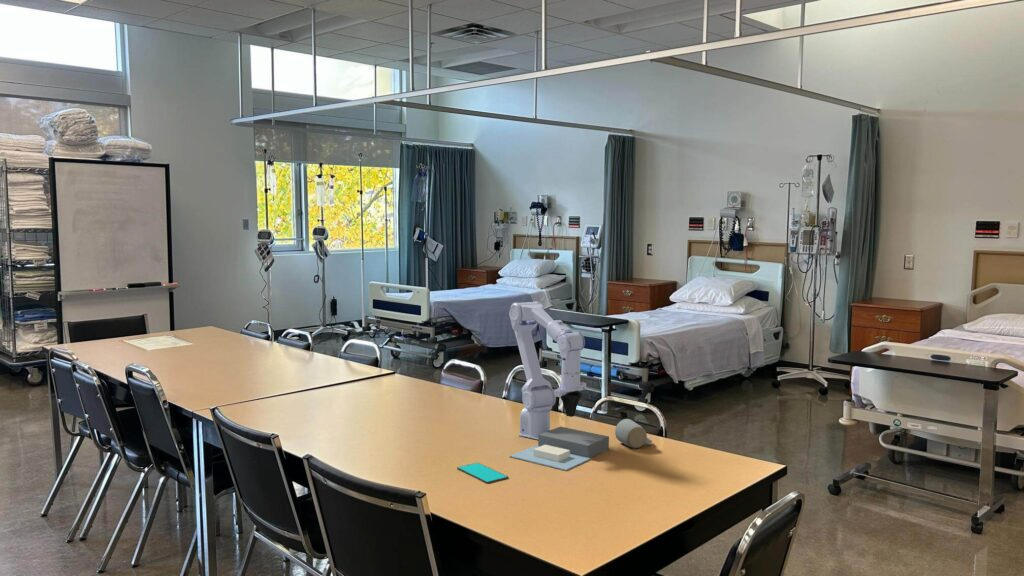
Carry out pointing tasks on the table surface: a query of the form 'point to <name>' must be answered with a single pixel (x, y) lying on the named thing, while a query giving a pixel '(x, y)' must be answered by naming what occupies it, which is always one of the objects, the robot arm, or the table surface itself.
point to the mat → (562, 465)
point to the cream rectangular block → (551, 453)
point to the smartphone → (482, 473)
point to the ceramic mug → (631, 434)
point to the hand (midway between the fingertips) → (570, 416)
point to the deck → (575, 441)
